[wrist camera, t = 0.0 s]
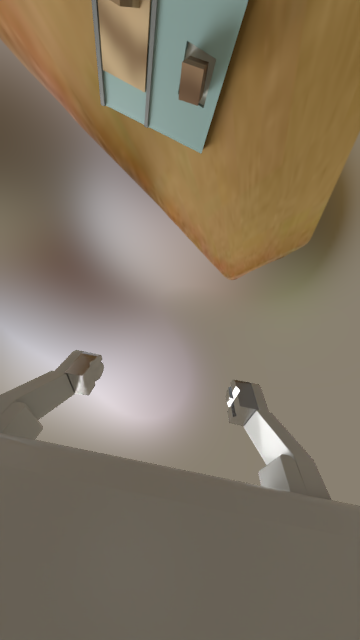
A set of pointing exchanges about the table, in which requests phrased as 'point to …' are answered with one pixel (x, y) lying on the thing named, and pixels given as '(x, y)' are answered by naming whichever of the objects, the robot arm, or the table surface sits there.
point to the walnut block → (192, 80)
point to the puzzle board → (176, 66)
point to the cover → (125, 39)
